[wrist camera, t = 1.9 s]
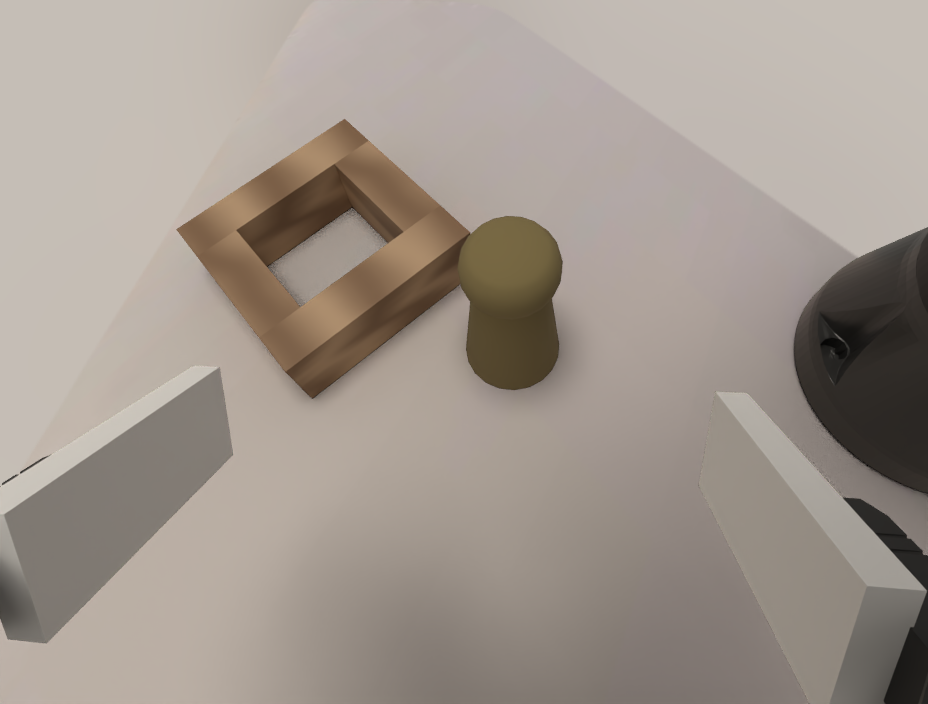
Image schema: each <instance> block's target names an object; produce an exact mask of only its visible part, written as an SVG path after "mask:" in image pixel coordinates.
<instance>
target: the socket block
mask: <svg viewBox="0 0 928 704" xmlns="http://www.w3.org/2000/svg"><path fill="white" fill-rule="evenodd" d="M351 207H353V208H354V209H355V210H356V211H357V212H358V213H359V214H360V215H361V216H362V217H363V218H364V219H365V220H366V221H367V222H368V223H369V224H370V225H371V226H372V227H373V228H374V229H375V230H376V231H377V232H378V233H379V234H380V235H381V236H382V237H383V238H384V239H385V240H386V241H387V242H388V244H387V245H385V246H384V247H382V248H381V249H380V250H378V251H377V252H376V253H374V254H373V255H371V256H370V257H369V258H367V259H366V260H365V261H363V262H362V263H361V264H359V265H358V266H356V267H355V268H354V269H352V270H351V271H350V272H348V273H347V274H345V275H344V276H343V277H341V278H340V279H339V280H337V281H336V282H334V283H333V284H332V285H330V286H329V287H328V288H326V289H325V290H323V291H322V292H321V293H319V294H318V295H317V296H315V297H314V298H313V299H311V300H310V301H308V302H307V303H306V304H304V305H303V306H302V307H300V306H299V305H298V304H297V303H296V301H295V300H294V299H293V298H292V297H291V295H290V294H289V293H288V292H287V291H286V289H285V288H284V287H283V286H282V285H281V283H280V282H279V281H278V280H277V279H276V277H275V276H274V275H273V274H272V273H271V271H270V270H269V269H268V268H267V266H268V265H270V264H271V263H273V262H274V261H275V260H277V259H278V258H280V257H281V256H283V255H284V254H285V253H287V252H288V251H290V250H291V249H293V248H294V247H295V246H297V245H298V244H300V243H301V242H303V241H304V240H305V239H307V238H308V237H310V236H311V235H313V234H314V233H315V232H317V231H318V230H320V229H321V228H323V227H324V226H325V225H327V224H328V223H330V222H331V221H333V220H334V219H335V218H337V217H338V216H340V215H341V214H343V213H344V212H345V211H347V210H348V209H350V208H351ZM176 230H177V231H178V232H179V234H180V235H181V236H182V238H183V239H184V240H185V241H186V243H187V244H188V245H189V247H190V248H191V249H192V251H193V252H194V253H195V255H196V256H197V257H198V258H199V260H200V261H201V262H202V264H203V265H204V266H205V268H206V269H207V270H208V272H209V273H210V274H211V275H212V277H213V278H214V279H215V281H216V282H217V283H218V285H219V286H220V287H221V289H222V290H223V291H224V292H225V294H226V295H227V296H228V298H229V299H230V300H231V302H232V303H233V304H234V306H235V307H236V308H237V309H238V311H239V312H240V313H241V315H242V316H243V317H244V319H245V320H246V321H247V322H248V324H249V325H250V326H251V328H252V329H253V330H254V332H255V333H256V334H257V336H258V337H259V338H260V339H261V341H262V342H263V343H264V345H265V346H266V347H267V349H268V350H269V351H270V353H271V354H272V355H273V356H274V358H275V359H276V360H277V362H278V363H279V364H280V366H281V367H282V368H283V370H284V371H285V372H286V373H287V374H288V375H289V376H290V377H291V378H292V379H293V380H294V381H295V382H296V383H297V384H298V385H299V386H300V387H301V388H302V389H303V390H304V391H305V392H306V393H307V394H308V395H309V396H310V397H311V398H314V397H315V396H316V395H318V394H319V393H320V392H321V391H323V390H324V389H325V388H327V387H328V386H329V385H330V384H332V383H333V382H334V381H336V380H337V379H338V378H340V377H341V376H342V375H343V374H345V373H346V372H347V371H349V370H350V369H351V368H352V367H354V366H355V365H356V364H358V363H359V362H360V361H361V360H363V359H364V358H365V357H367V356H368V355H369V354H370V353H372V352H373V351H374V350H376V349H377V348H378V347H379V346H381V345H382V344H383V343H385V342H386V341H387V340H389V339H390V338H391V337H392V336H394V335H395V334H396V333H398V332H399V331H400V330H401V329H403V328H404V327H405V326H407V325H408V324H409V323H410V322H412V321H413V320H414V319H416V318H417V317H418V316H419V315H421V314H422V313H423V312H425V311H426V310H427V309H428V308H430V307H431V306H432V305H434V304H435V303H436V302H437V301H439V300H440V299H441V298H443V297H444V296H445V295H447V294H448V293H449V292H450V291H452V290H453V289H454V288H456V287H457V286H458V285H459V284H460V279H459V274H458V268H457V267H458V262H459V256H460V252H461V248H462V246H463V245H464V243H465V241H466V240H467V238H468V236H469V235H470V232H469V231H468V230H467V229H466V228H465V227H463V226H462V225H461V224H460V223H459V222H458V221H457V220H456V219H455V218H454V217H452V216H451V215H450V214H449V213H448V212H447V211H446V210H445V209H444V208H442V207H441V206H440V205H439V204H438V203H437V202H436V201H435V200H434V199H433V198H431V197H430V196H429V195H428V194H427V193H426V192H425V191H424V190H423V189H421V188H420V187H419V186H418V185H417V184H416V183H415V182H414V181H413V180H412V179H410V178H409V177H408V176H407V175H406V174H405V173H404V172H403V171H402V170H401V169H399V168H398V167H397V166H396V165H395V164H394V163H393V162H392V161H391V160H389V159H388V158H387V157H386V156H385V155H384V154H383V153H382V152H381V151H380V150H378V149H377V148H376V147H375V146H374V145H373V144H372V143H371V142H370V141H368V140H367V139H366V138H365V137H364V136H363V135H362V134H361V133H360V132H359V131H357V130H356V129H355V128H354V127H353V126H352V125H351V124H350V123H349V122H347V121H346V120H345V119H344V120H342V121H341V122H339V123H338V124H336V125H335V126H333V127H332V128H330V129H329V130H327V131H326V132H324V133H322V134H321V135H319V136H318V137H316V138H315V139H313V140H312V141H310V142H309V143H307V144H306V145H304V146H303V147H301V148H300V149H298V150H297V151H295V152H294V153H292V154H291V155H289V156H287V157H286V158H284V159H283V160H281V161H280V162H278V163H277V164H275V165H274V166H272V167H271V168H269V169H268V170H266V171H265V172H263V173H262V174H260V175H259V176H257V177H255V178H254V179H252V180H251V181H249V182H248V183H246V184H245V185H243V186H242V187H240V188H239V189H237V190H236V191H234V192H233V193H231V194H230V195H228V196H227V197H225V198H224V199H222V200H220V201H219V202H217V203H216V204H214V205H213V206H211V207H210V208H208V209H207V210H205V211H204V212H202V213H201V214H199V215H198V216H196V217H195V218H193V219H192V220H190V221H188V222H187V223H185V224H184V225H182V226H181V227H179V228H178V229H176Z"/></svg>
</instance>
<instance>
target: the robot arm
mask: <svg viewBox="0 0 928 704" xmlns="http://www.w3.org/2000/svg"><path fill="white" fill-rule="evenodd" d="M795 362H796V367H797V372H798V376H799V379H800V382H801V385H802V388H803V390H804V392H805V394H806V397H807V398H808V400H809V402H810V404H811V406H812V407H813V409H814V411H815V412H816V414H817V415H818V417H819V418H820V420H821V421H822V422H823V424H824V425H825V426H826V427H827V428H828V430H829V431H830V432H831V433H832V434H833V435H834V436H835V437H836V439H837V440H839V441H840V442H841V443H842V444H843V445H844V446H845V447H846V448H847V449H848V450H849V451H851V452H852V453H853V454H854V455H855V456H857V457H858V458H859V459H861V460H862V461H863V462H865V463H866V464H868V465H869V466H871V467H872V468H874V469H875V470H877V471H879V472H880V473H882V474H884V475H885V476H887V477H889V478H891V479H893V480H895V481H897V482H899V483H902V484H904V485H906V486H909V487H911V488H914V489H916V490H919V491H922V492H925V493H928V227H927V228H925V229H923V230H920V231H918V232H916V233H913V234H911V235H909V236H906V237H904V238H902V239H899V240H897V241H895V242H893V243H890V244H888V245H886V246H884V247H881V248H879V249H876V250H874V251H872V252H870V253H867V254H865V255H863V256H861V257H859V258H857V259H855V260H854V261H852V262H850V263H849V264H847V265H846V266H845V267H843V268H842V269H840V270H839V271H838V272H837V273H836V274H834V275H833V276H832V277H831V278H830V279H829V280H828V281H827V282H826V283H825V285H824V286H823V287H822V288H821V289H820V290H819V291H818V292H817V293H816V294H815V295H814V296H813V297H812V299H811V300H810V301H809V303H808V304H807V306H806V307H805V309H804V311H803V313H802V315H801V317H800V320H799V323H798V326H797V330H796V336H795ZM232 455H233V450H232V443H231V437H230V430H229V424H228V417H227V411H226V405H225V398H224V392H223V385H222V379H221V372H220V367H212V366H192V367H190V368H189V369H187V370H186V371H184V372H182V373H181V374H179V375H178V376H176V377H174V378H173V379H171V380H170V381H168V382H166V383H165V384H163V385H162V386H160V387H158V388H157V389H155V390H154V391H152V392H151V393H149V394H147V395H146V396H144V397H143V398H141V399H139V400H138V401H136V402H135V403H133V404H131V405H130V406H128V407H127V408H125V409H123V410H122V411H120V412H119V413H117V414H115V415H114V416H112V417H111V418H109V419H107V420H106V421H104V422H103V423H101V424H100V425H98V426H96V427H95V428H93V429H92V430H90V431H88V432H87V433H85V434H84V435H82V436H80V437H79V438H77V439H76V440H74V441H72V442H71V443H69V444H68V445H66V446H64V447H63V448H61V449H60V450H58V451H56V452H55V453H53V454H51V455H49V456H47V457H44V458H42V459H40V460H39V461H37V462H35V463H34V464H32V465H31V466H29V467H27V468H26V469H24V470H23V471H21V472H20V475H15V476H13V477H11V478H10V479H8V480H7V481H5V482H4V483H2V486H0V619H1V622H2V624H3V627H4V630H5V633H6V636H7V638H8V639H10V640H19V641H29V642H38V643H47V642H48V641H49V640H50V639H51V638H52V637H53V636H54V635H55V634H56V633H57V632H58V631H59V630H60V629H61V628H62V627H63V626H64V625H65V624H66V623H67V622H68V621H69V620H70V619H71V618H72V617H73V616H74V615H75V614H76V613H77V612H78V611H79V610H80V609H81V608H82V607H83V606H84V605H85V604H86V603H87V602H88V601H89V600H90V599H91V598H92V597H93V596H94V595H95V594H96V593H97V592H98V591H99V590H100V589H101V588H102V587H103V586H104V585H105V584H106V583H107V582H108V581H109V580H110V579H111V578H112V577H113V576H114V575H115V574H116V573H117V572H118V571H119V570H120V569H121V568H122V567H123V566H124V565H125V564H126V563H127V562H128V561H129V560H130V558H131V557H132V556H133V555H134V554H135V553H136V552H137V551H138V550H139V549H140V548H141V547H142V546H143V545H144V544H145V543H146V542H147V541H148V540H149V539H150V538H151V537H152V536H153V535H154V534H155V533H156V532H157V531H158V530H159V529H160V528H161V527H162V526H163V525H164V524H165V523H166V522H167V521H168V520H169V519H170V518H171V517H172V516H173V515H174V514H175V513H176V512H177V511H178V510H179V509H180V508H181V507H182V506H183V505H184V504H185V503H186V502H187V501H188V500H189V499H190V498H191V497H192V496H193V495H194V494H195V493H196V492H197V491H198V490H199V489H200V488H201V487H202V486H203V485H204V484H205V483H206V482H207V481H208V480H209V479H210V478H211V477H212V476H213V475H214V474H215V473H216V472H217V471H218V470H219V469H220V467H221V466H222V465H223V464H224V463H225V462H226V461H227V460H228V459H229V458H230V457H231V456H232ZM699 488H700V489H701V491H702V493H703V495H704V497H705V499H706V501H707V503H708V505H709V507H710V509H711V511H712V513H713V515H714V517H715V519H716V521H717V523H718V525H719V527H720V529H721V531H722V533H723V535H724V537H725V539H726V541H727V543H728V545H729V547H730V548H731V550H732V552H733V554H734V556H735V558H736V560H737V562H738V564H739V566H740V568H741V570H742V572H743V574H744V576H745V578H746V580H747V582H748V584H749V586H750V588H751V590H752V592H753V594H754V596H755V598H756V600H757V602H758V604H759V606H760V607H761V609H762V611H763V613H764V615H765V617H766V619H767V621H768V623H769V625H770V627H771V629H772V631H773V633H774V635H775V637H776V639H777V641H778V643H779V645H780V647H781V649H782V651H783V653H784V655H785V657H786V659H787V661H788V663H789V665H790V667H791V668H792V670H793V672H794V674H795V676H796V678H797V680H798V682H799V684H800V686H801V688H802V690H803V692H804V694H805V696H806V698H807V700H808V702H809V704H928V556H927V555H923V553H922V552H923V551H922V550H921V549H920V548H919V547H918V546H917V545H916V544H915V543H914V542H913V541H912V540H911V539H907V535H906V534H905V533H904V532H903V531H902V530H901V529H900V528H899V527H898V526H897V525H896V524H895V523H894V522H893V521H892V520H891V519H890V518H889V517H888V516H887V515H885V514H884V513H882V512H881V511H879V510H877V509H876V508H874V507H873V506H871V505H869V504H868V503H866V502H865V501H863V500H861V499H855V498H842V497H841V496H840V495H839V493H838V492H837V491H836V490H835V489H834V488H833V487H832V486H831V485H830V484H829V482H828V481H827V480H826V479H825V478H824V477H823V476H822V475H821V474H820V473H819V471H818V470H817V469H816V468H815V467H814V466H813V465H812V464H811V463H810V462H809V460H808V459H807V458H806V457H805V456H804V455H803V454H802V453H801V452H800V451H799V449H798V448H797V447H796V446H795V445H794V444H793V443H792V442H791V441H790V440H789V438H788V437H787V436H786V435H785V434H784V433H783V432H782V431H781V430H780V429H779V427H778V426H777V425H776V424H775V423H774V422H773V421H772V420H771V419H770V418H769V416H768V415H767V414H766V413H765V412H764V411H763V410H762V409H761V408H760V407H759V405H758V404H757V403H756V402H755V401H754V400H753V399H752V398H751V397H750V396H749V394H748V393H736V392H716V391H715V396H714V401H713V407H712V413H711V418H710V424H709V430H708V435H707V441H706V447H705V452H704V458H703V464H702V469H701V475H700V481H699Z"/></svg>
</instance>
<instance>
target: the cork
mask: <svg viewBox="0 0 928 704" xmlns="http://www.w3.org/2000/svg"><path fill="white" fill-rule="evenodd" d="M562 263H563V261H562V258H561V254H560V251H559V248H558V245H557V242H556V241H555V239H554V238H553V237H552V235H551V234H550V233H549V231H547V230H546V229H544V228H543V227H542V226H540V225H539V224H537V223H536V222H534V221H532V220H529V219H526V218H523V217H514V216H505V217H500V218H495V219H492V220H490V221H488V222H486V223H484V224H482V225H481V226H480V227H478V228H477V229H476V230H475V231H474V232H473V233H472V234H471V235H469V236H468V238H467V240H466V241H465V243H464V245H463V246H462V248H461V252H460V256H459V262H458V267H457V268H458V274H459V279H460V284H461V288H462V289H463V291H464V293H465V294H466V296H467V298H468V299H469V301H470V311H469V322H468V333H467V344H466V351H467V356H468V362H469V363H470V365H471V367H472V368H473V370H474V372H475V374H477V375H478V376H479V377H480V378H481V379H482V380H484V381H485V382H486V383H488V384H490V385H493V386H495V387H497V388H501V389H510V390H517V389H522V388H527V387H530V386H532V385H534V384H536V383H538V382H540V381H542V380H543V379H544V378H545V377H546V376H547V375H548V374H549V373H550V372H551V371H552V369H553V367H554V365H555V363H556V360H557V358H558V350H559V341H558V335H557V329H556V322H555V316H554V310H553V303H552V297H553V296H554V294H555V292H556V290H557V288H558V286H559V284H560V281H561V274H562Z"/></svg>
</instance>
